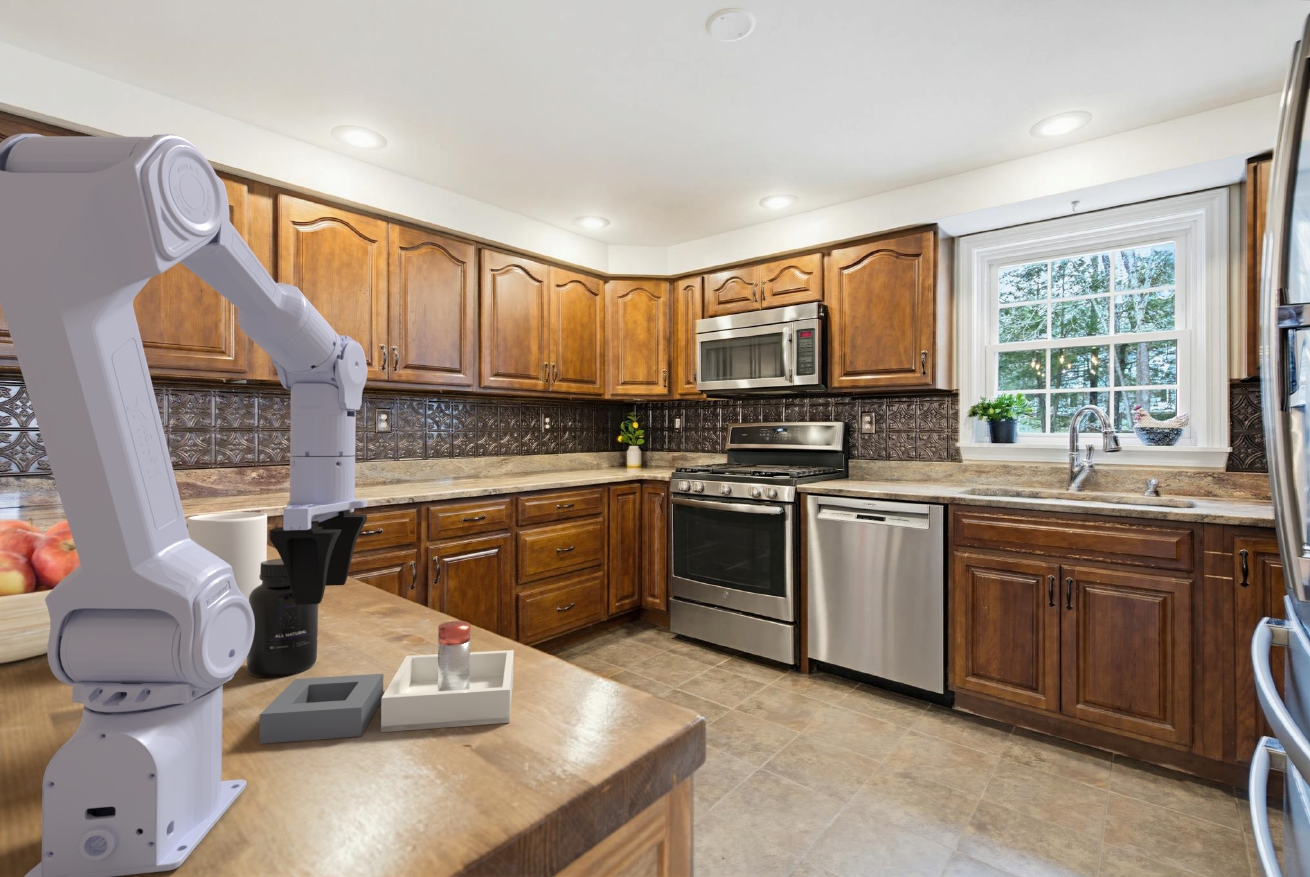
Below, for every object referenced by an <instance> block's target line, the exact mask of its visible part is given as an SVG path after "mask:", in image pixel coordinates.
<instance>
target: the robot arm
mask: <svg viewBox="0 0 1310 877" xmlns="http://www.w3.org/2000/svg"><path fill="white" fill-rule="evenodd" d="M178 263H180V264H182V265H183V266H185V268H187V269H188V270H189V271H191V272H192V274H193V273H194V274H195V275H196V276H197V277H198V278H199V279H200V280H202V281H204V282H205V284H207V286H209V287H210V288H212V290H214V291H216V292H217V293H218V294H219V295H221V296H222V297H223V298H224V299H226V300H227V301H228V302H230V303H231V304H232V305H233V306H234V307H236V308H237V309H238V310H237V317H236V318H237V319H236V320H237V324H238V327H239V328H240V330H241V331H242V332H243V333H244V334H245V335H246V336H247V337H248V338H249V339H251V341H252V342H254V343H255V344H256V345H257V346H258V347H260V349H262V350H263V351H264V352H265V353H266V354H267V355H268V356H269V357H270V361H271V364H272V365H273V367H274V368H275V369H276V370H275V371H276V373H277V377H278V380H279V381H280V384H281V385H282V387H283V389H285V390H287V391H290V428H289V429H290V431H289V432H290V439H289V440H290V441H289V442H290V443H289V445H290V446H289V447H290V448H289V452H290V453H289V454H290V456H289V501H287V504H286V505H287V506H286V507H285V508H283V516H282V517H283V518H282V520H283V524H282V526H283V527H282V526H281V527H278V526H277V527H274V528H271V529H269V533H268V534H269V541H270V543H271V544H272V545H273V547H274V548H275V549H276V551H277V552H278V554H279V556H280V557H279V558H281V559H282V561H283V563H284V566H285V569H286V572H287V576H288V579H289V583H290V587H291V591H292V595H293V598H294V601H295V604H296V605H306V604H318V605H320V604H321V603H322V601H323V597H324V594H325V591H326V586H327V587H328V586H329V587H331V586H332V587H333V586H344V585H346V582H347V580H348V576H349V572H350V570H351V569H350V568H351V563H352V560H353V559H352V558H353V554H354V551H355V548H356V545H357V541H358V538H359V536H360V534H361V532H362V530H363V528H364V526H365V524H366V523H367V521H368V520H367V519H368V515H367V514H364V513H363V514H362V513H361V514H360V513H359V514H357V513H354V514H351V513H353V512H355V509H362V508H367V507H368V499H365V498H364V499H361V498H360V499H357V498H356V424H357V422H356V420H357V418H356V415H357V412H356V411H359V410H361V406H362V404H363V403H362V402H363V400H362V399H363V398H362V397H363V391H364V388H365V386H366V383H367V379H368V373H369V372H368V370H369V366H368V364H367V358H366V353H365V351H364V349H363V346H362V344H360V342H358V341H357V340H354V339H353V338H352V337H351V336H349V335H345V334H344V335H343V334H342V335H341V334H340V335H339V334H338V333H337V332H336V330H334V328H333V327H332V325H330V324H329V322H328V320H326V319H325V318H324V317H323V315H321V313H320V312H319V311H318V309H317V308H315V306H314V305H313V304H312V303H311V302H310V300H308V298H307V297H306V296H305V295H304V293H303V292H302V291H301V289H299V288H298V286H297V285H291V284H290V283H289V284H288V283H285V282H276V281H275V280H274V278H273V277H272V276H271V274H269V271H267V269H266V267H264V265H263V264H262V262H261V261H260V260H259V259H258V257H257V256H256V255H255V253H254V251H253V250H252V249H251V247H249V245H248V244H247V242H246V241H245V240H244V238H243V237H242V236H241V234H240V233H239V232H238V230H237V229H236V228H235V226H234V225H233V223H232V222H231V221H230V204H229V197H228V192H227V188H226V185H225V182H224V181H223V180H222V179H221V178H220V177H219V176H218V175H217V173H216V171H215V170H214V168H213V166H212V165H211V163H210V162H209V160H208V159H207V158H206V157H205V155H204V154H203V153H202V151H200V149H199V148H198V147H197V146H196V145H194V143H192V142H191V141H189V140H188V139H186V138H184V137H183V136H180V135H176V134H171V133H164V134H162V133H161V134H154V135H152V136H69V135H68V136H61V135H60V136H51V135H50V136H47V135H46V136H45V135H41V134H39V133H18V134H16V133H15V134H14V135H11V136H8V137H7V138H5V139H3V140H2V141H1V142H0V306H1V309H2V312H3V316H4V319H5V322H6V326H7V328H8V331H9V332H8V333H9V335H10V338H11V342H12V346H13V348H14V352H15V354H16V359H17V361H18V364H19V367H20V371H21V374H22V377H23V380H24V384H25V387H26V391H27V394H28V398H29V400H30V404H31V407H32V410H33V413H34V416H35V420H36V424H37V427H38V429H39V433H40V435H41V436H40V437H41V439H42V442H43V446H44V449H45V453H46V457H47V459H48V462H49V465H50V469H51V472H52V475H53V479H54V482H55V485H56V488H57V491H58V495H59V498H60V501H61V504H62V508H63V512H64V514H65V517H66V521H67V524H68V528H69V530H70V535H71V537H72V541H73V544H74V547H75V550H76V553H77V558H78V560H79V563H80V564H79V565H78V566H77V567H75V569H73V570H72V571H71V572H69V573H68V574H67V575H65V577H63V578H62V579H61V580H60V581H59V582H58V584H56V585H55V586H54V588H52V589H51V591H50V592H49V593H48V594H47V595H46V596H45V598H44V601H45V604H46V607H47V610H48V615H49V620H50V625H49V626H50V629H49V635H48V641H47V651H46V652H47V661H48V665H49V668H50V671H51V672H52V674H53V675H54V677H55V678H57V680H58V681H60V682H61V683H63V684H65V685H67V686H71V687H72V693H71V694H72V701H71V702H72V703H80V704H83V705H84V706H83V710H82V716H81V720H80V723H79V725H78V727H77V728H76V731H75V732H74V733H73V734H72V736H71V737H70V738H69V739H68V740H67V741H66V742H65V743H64V744H63V745H61V747H60V748H59V749H58V750H57V751H56V752H55V753H54V755H53V756H52V757H51V759H50V760H49V762H48V764H47V766H46V768H45V771H44V774H43V778H42V779H43V780H42V788H41V789H42V796H41V798H42V800H41V801H42V803H41V806H42V808H41V809H42V810H41V815H42V816H41V861H40V862H38V863H37V865H35V866H34V867H32V869H30V870H29V871H28V872H27V873H26V874H24V876H23V877H121V876H122V877H123V876H132V875H139V874H150V873H156V872H157V873H158V872H159V873H160V872H169V871H172V870H176V869H177V868H179V867H180V866H181V865H182V864H183V863H184V862H185V861H186V859H187V858H188V857H189V856H190V855H191V854H192V852H193V851H194V850H195V848H196V847H197V846H198V845H199V844H200V843H201V841H202V840H203V839H204V838H205V837H206V836H207V835H208V833H209V832H210V831H211V829H212V828H214V826H215V825H216V823H217V822H218V821H219V820H220V819H221V818H222V816H223V815H224V814H225V812H226V811H227V810H228V809H229V808H230V807H231V805H232V804H233V803H234V802H235V800H237V799H238V797H239V796H240V794H241V793H242V792H243V791H244V790H245V789H246V788H247V782H248V781H247V780H246V779H244V778H243V779H241V778H240V779H233V780H231V779H230V780H223V779H222V778H223V776H222V774H223V769H222V768H223V701H224V700H223V696H224V694H223V689H224V688H223V687H224V686H223V685H224V684H225V683H228V682H229V681H231V680H232V679H233V678H234V676H235V674H236V673H237V672H238V671H239V669H240V668H241V666H242V665H243V664H244V662H245V661H246V660H247V655H248V653H249V651H250V648H251V645H252V642H253V638H254V631H255V620H254V614H253V611H252V608H251V605H250V603H249V601H248V599H247V598H246V596H245V595H244V594H243V593H242V592H241V591H240V590H239V588H238V586H237V584H236V582H235V578H234V574H233V570H232V567H231V566H230V565H229V564H228V563H227V562H225V561H224V560H222V559H221V558H219V557H218V556H216V555H214V554H213V553H211V552H209V551H208V550H206V549H205V548H203V547H201V546H200V545H198V544H197V543H195V542H194V541H193V540H191V539H190V537H189V533H188V524H187V522H186V518H185V514H184V510H183V504H182V501H181V498H180V497H181V496H180V493H179V489H178V485H177V480H176V477H175V472H174V467H173V464H172V460H171V456H170V451H169V448H168V444H167V439H166V436H165V431H164V427H163V424H162V420H161V414H160V411H159V407H158V403H157V399H156V395H155V391H154V387H153V383H152V379H151V374H150V370H149V365H148V362H147V361H148V360H147V358H146V354H145V350H144V344H143V341H142V338H141V333H140V329H139V325H138V321H137V317H136V313H135V309H134V300H135V298H136V296H137V295H138V294H139V293H140V292H141V291H142V290H143V288H144V287H145V286H146V285H147V283H148V282H149V281H150V280H151V279H152V278H153V277H156V276H159V275H161V274H163V273H165V272H166V271H168V270H169V269H171V268H172V267H174V266H175V265H177V264H178Z"/></svg>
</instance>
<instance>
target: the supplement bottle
mask: <svg viewBox="0 0 1310 877" xmlns="http://www.w3.org/2000/svg"><path fill="white" fill-rule="evenodd" d="M259 579H260V580H262V584H261V585H259V586H258V587H256V588H255V589H254V590H253V591H252V592H251V594H250V596H249V603H250V605H251V608H252V611H253V614H254V620H255V631H254V638H253V642H252V645H251V648H250V651H249V653H248V655H247V657H246V670H247V672H248V673H249V674H250V675H252V676H254V677H260V678H277V677H284V676H290V675H294V674H295V675H296V674H298V673H302V672H304V671H307V670H309V669H310V668H312V667H313V666H314V665H315V663H317V662H316V661H317V658H318V635H319V634H318V633H319V632H318V631H319V604H306V605H296V604H295V601H294V598H293V595H292V591H291V587H290V583H289V579H288V576H287V572H286V569H285V566H284V563H283V561H282V559H281V557H279V558H274V559H273V558H272V559H267V561H264V562H261V568H260V575H259Z"/></svg>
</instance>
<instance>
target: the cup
mask: <svg viewBox="0 0 1310 877" xmlns="http://www.w3.org/2000/svg"><path fill="white" fill-rule="evenodd" d="M187 529H188V533H189V537H190V539H191V540H193V541H194V542H195V543H197V544H198V545H200V546H201V547H203V548H205V549H206V550H208V551H209V552H211V553H213V554H214V555H216V556H218V557H219V558H221V559H222V560H224V561H225V562H227V563H228V564H229V565H230V566H231V567H232V570H233V574H234V578H235V582H236V584H237V586H238V588H239V590H240V591H241V592H242V593H243V594H244V595H245V596H246V598H247V599H248V601H249V596H250V594H251V592H252V591H253V590H254V589H255V588H256V587H258V586H259V585H261V584H262V580H260V579H259V575H260V568H261V562H264V561H267V560H268V558H267V557H268V552H267V551H268V514H267V513H265V512H254V511H253V512H251V511H249V512H247V511H245V512H243V511H242V512H241V511H240V512H220V513H207V514H199V515H195V516H193V515H192V516H190V517H188V519H187Z"/></svg>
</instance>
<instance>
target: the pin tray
mask: <svg viewBox="0 0 1310 877" xmlns="http://www.w3.org/2000/svg"><path fill="white" fill-rule="evenodd" d="M514 653H515V650H514V649H511V650H510V649H509V650H493V651H492V650H491V651H490V650H488V651H474V652H473V651H470V685H469V689H467V690H451V691H437V682H438V653H435V654H416V655H415V654H413V655H406V656H405V658H404V660H403V661H402V663H401V664H400V666H399V667H398V670H397V671H396V672H395V675H394V676H393V678H392V680H391V681H390V683H389V685H388V686H387V688H386V690H385V691H384V692H383V696H382V698H381V703H380V707H381V709H380V711H381V713H380V714H381V717H380V718H381V719H380V720H381V721H380V722H381V723H380V724H381V725H380V732H381V733H387V732H388V733H389V732H401V731H403V732H405V731H414V730H415V731H416V730H429V729H430V730H431V729H440V728H441V729H443V728H455V727H456V728H457V727H468V726H481V725H482V726H483V725H496V724H508V723H510V722H511V721H510V720H511V711H512V699H513V698H512V697H513V687H514V678H515V677H514V669H515V668H514V667H515V665H514V661H515V660H514V659H515V658H514V657H515V654H514Z"/></svg>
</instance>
